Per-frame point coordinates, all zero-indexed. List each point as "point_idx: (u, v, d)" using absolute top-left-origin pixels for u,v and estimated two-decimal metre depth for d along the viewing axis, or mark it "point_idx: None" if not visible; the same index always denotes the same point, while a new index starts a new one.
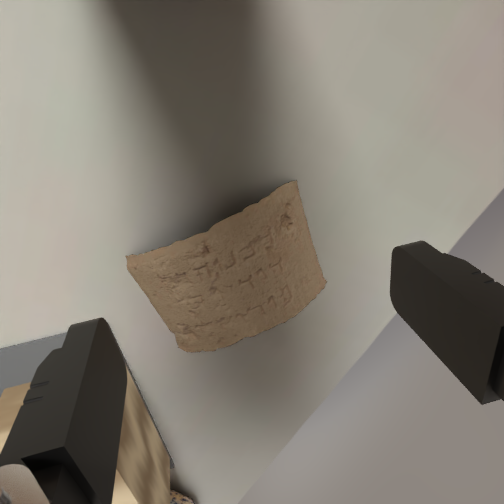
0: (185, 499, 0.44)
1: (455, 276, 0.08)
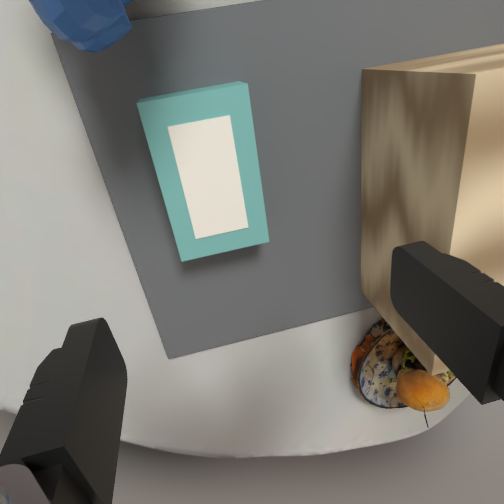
0: None
1: (455, 276, 0.08)
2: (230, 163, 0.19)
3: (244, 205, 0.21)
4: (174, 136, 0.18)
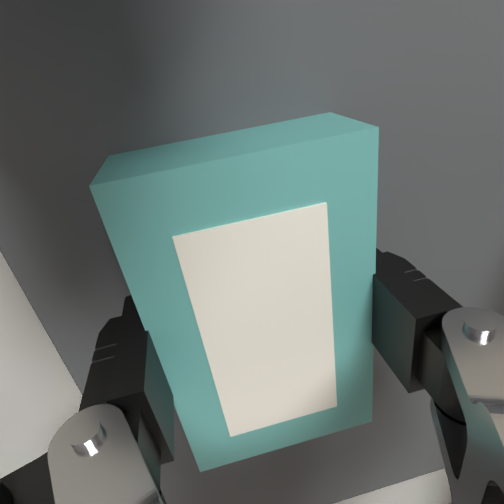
0: None
1: (387, 273, 0.09)
2: (316, 300, 0.09)
3: (334, 370, 0.10)
4: (190, 257, 0.07)
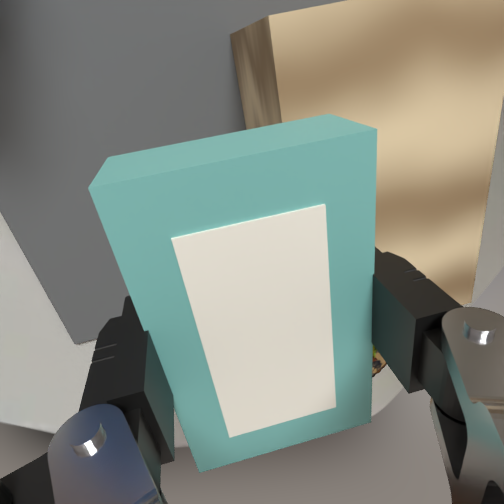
0: None
1: (387, 273, 0.09)
2: (315, 302, 0.09)
3: (333, 371, 0.10)
4: (188, 259, 0.07)
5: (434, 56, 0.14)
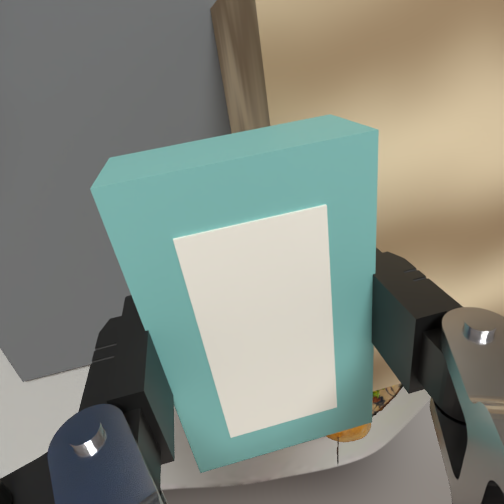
0: None
1: (387, 273, 0.09)
2: (316, 302, 0.09)
3: (334, 372, 0.10)
4: (190, 260, 0.07)
5: (489, 32, 0.10)
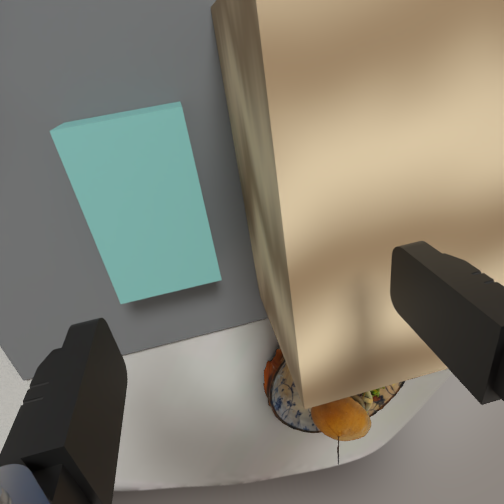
0: None
1: (455, 276, 0.08)
2: None
3: None
4: None
5: (489, 31, 0.10)
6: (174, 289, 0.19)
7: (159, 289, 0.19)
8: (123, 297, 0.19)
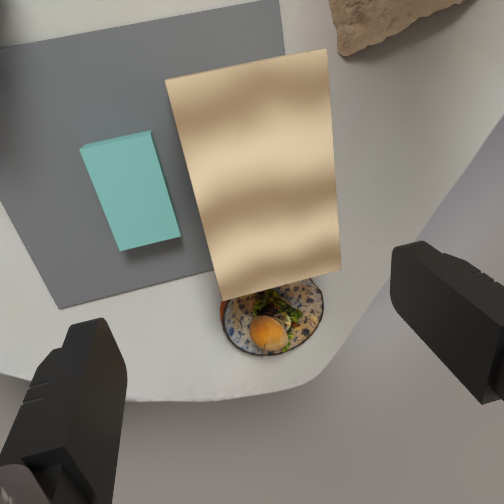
0: (311, 299, 0.41)
1: (455, 276, 0.08)
2: None
3: None
4: None
5: (277, 101, 0.23)
6: (152, 242, 0.32)
7: (142, 241, 0.32)
8: (121, 246, 0.32)
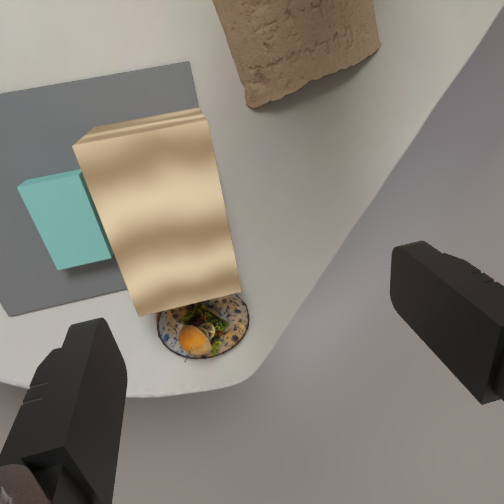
0: (238, 310, 0.47)
1: (455, 276, 0.08)
2: None
3: None
4: None
5: (170, 160, 0.28)
6: (86, 262, 0.37)
7: (77, 262, 0.37)
8: (58, 266, 0.37)
